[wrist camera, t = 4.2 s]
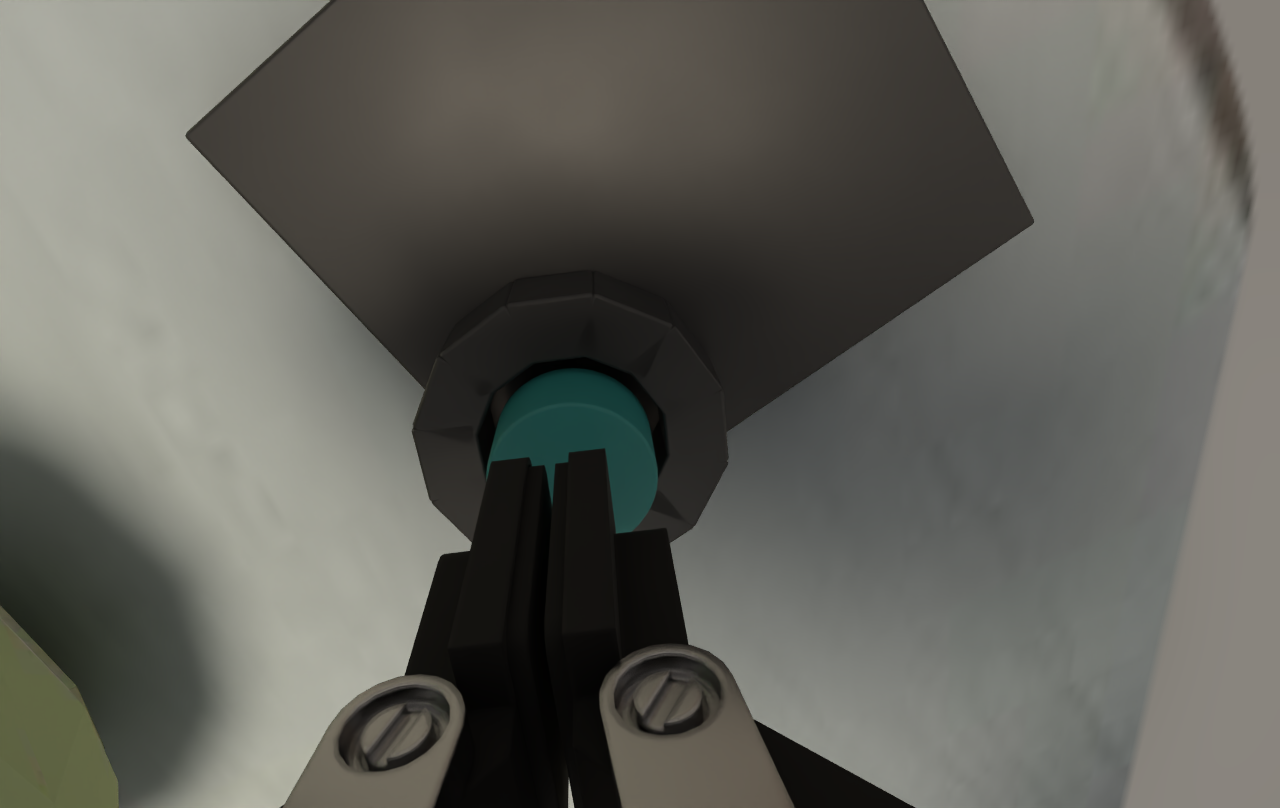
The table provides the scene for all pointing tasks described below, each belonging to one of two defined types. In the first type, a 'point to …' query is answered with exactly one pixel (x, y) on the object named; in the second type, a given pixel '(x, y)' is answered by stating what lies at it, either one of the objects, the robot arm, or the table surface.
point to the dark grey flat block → (616, 200)
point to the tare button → (583, 434)
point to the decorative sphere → (46, 733)
